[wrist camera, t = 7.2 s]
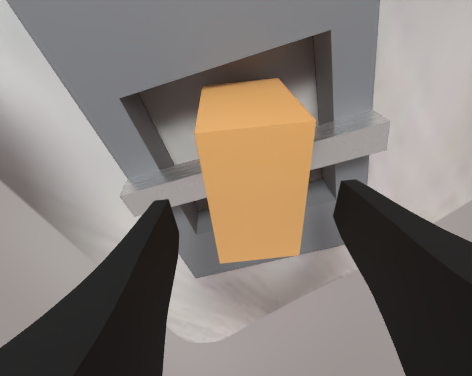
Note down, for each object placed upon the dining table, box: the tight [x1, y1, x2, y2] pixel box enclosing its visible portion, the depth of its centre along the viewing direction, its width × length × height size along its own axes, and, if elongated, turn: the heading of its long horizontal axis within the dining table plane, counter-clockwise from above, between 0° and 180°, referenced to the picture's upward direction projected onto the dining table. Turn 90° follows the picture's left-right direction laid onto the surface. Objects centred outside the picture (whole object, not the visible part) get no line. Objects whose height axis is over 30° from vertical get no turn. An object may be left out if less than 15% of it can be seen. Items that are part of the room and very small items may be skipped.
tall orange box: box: [194, 78, 316, 264], centre depth 12 cm, size 4×7×6 cm, turn 5°
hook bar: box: [119, 110, 390, 217], centre depth 13 cm, size 14×2×2 cm, turn 106°
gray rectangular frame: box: [6, 0, 380, 278], centre depth 15 cm, size 14×20×2 cm
